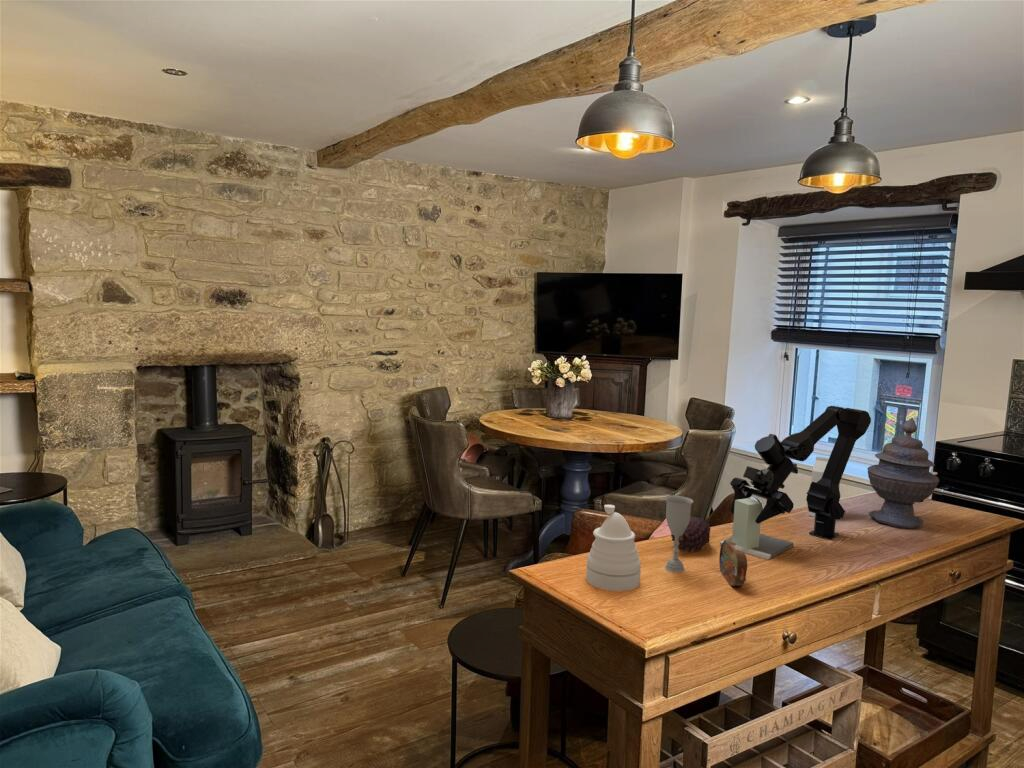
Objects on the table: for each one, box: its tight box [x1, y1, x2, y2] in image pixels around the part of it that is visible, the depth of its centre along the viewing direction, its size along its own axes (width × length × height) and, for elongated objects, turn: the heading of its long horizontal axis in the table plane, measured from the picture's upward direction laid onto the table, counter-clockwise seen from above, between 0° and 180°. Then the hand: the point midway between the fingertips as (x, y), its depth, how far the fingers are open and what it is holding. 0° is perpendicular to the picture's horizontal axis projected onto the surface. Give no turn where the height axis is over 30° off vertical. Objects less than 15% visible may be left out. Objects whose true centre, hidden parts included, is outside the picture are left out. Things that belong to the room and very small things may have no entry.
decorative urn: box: [867, 417, 940, 529], centre depth 222 cm, size 20×20×34 cm
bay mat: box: [719, 533, 794, 560], centre depth 198 cm, size 16×14×1 cm
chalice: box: [664, 495, 694, 574], centre depth 177 cm, size 7×7×18 cm
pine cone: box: [670, 515, 712, 553], centre depth 194 cm, size 18×10×10 cm
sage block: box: [731, 497, 763, 550], centre depth 194 cm, size 5×5×12 cm
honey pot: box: [585, 504, 642, 592], centre depth 169 cm, size 13×13×18 cm
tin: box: [718, 540, 748, 587], centre depth 172 cm, size 15×3×8 cm, turn 178°
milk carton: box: [807, 456, 841, 518], centre depth 228 cm, size 7×7×19 cm
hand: (743, 517), depth 193 cm, fingers open, 9 cm apart
